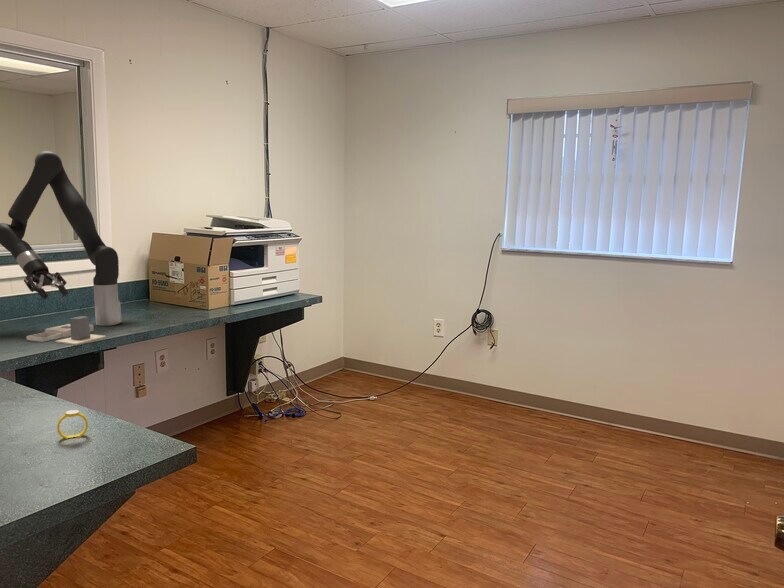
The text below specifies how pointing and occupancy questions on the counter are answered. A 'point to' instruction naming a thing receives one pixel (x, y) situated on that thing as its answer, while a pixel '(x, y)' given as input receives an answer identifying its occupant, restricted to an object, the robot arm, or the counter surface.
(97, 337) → the rubber mat
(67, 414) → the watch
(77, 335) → the plug
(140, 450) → the counter surface
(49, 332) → the power strip
